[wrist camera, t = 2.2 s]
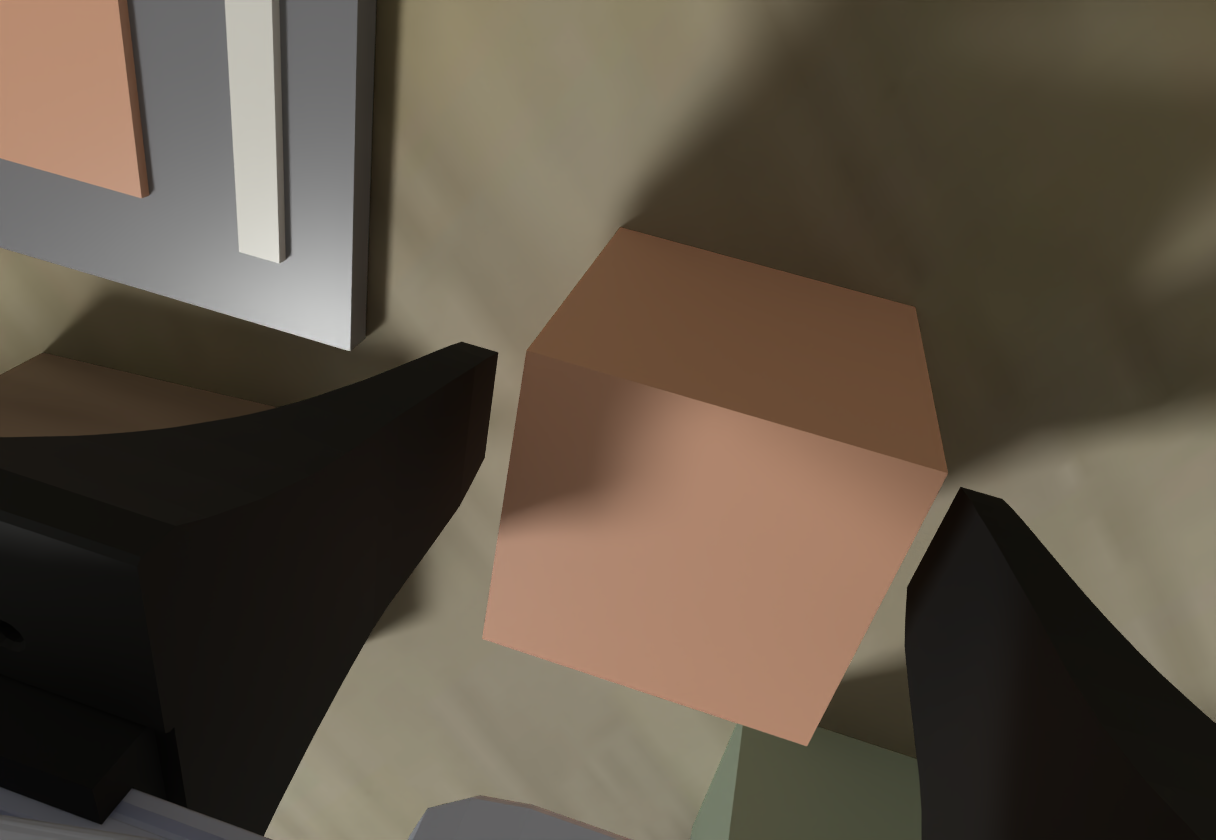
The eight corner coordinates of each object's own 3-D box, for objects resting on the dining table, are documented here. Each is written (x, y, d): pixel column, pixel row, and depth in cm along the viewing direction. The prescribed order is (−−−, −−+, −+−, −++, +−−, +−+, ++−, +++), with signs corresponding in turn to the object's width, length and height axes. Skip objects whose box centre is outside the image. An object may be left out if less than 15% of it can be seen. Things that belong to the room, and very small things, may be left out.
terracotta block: (816, 535, 16) (807, 746, 12) (572, 461, 17) (481, 639, 12) (914, 305, 13) (947, 473, 9) (621, 225, 14) (526, 350, 10)
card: (365, 338, 16) (344, 355, 16) (-78, 207, 17) (-115, 218, 17) (381, -149, 12) (353, -154, 11) (-210, -284, 13) (-267, -296, 12)
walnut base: (353, 641, 21) (277, 753, 18) (115, 577, 22) (7, 674, 19) (335, 412, 18) (236, 507, 15) (51, 347, 19) (-94, 424, 16)
